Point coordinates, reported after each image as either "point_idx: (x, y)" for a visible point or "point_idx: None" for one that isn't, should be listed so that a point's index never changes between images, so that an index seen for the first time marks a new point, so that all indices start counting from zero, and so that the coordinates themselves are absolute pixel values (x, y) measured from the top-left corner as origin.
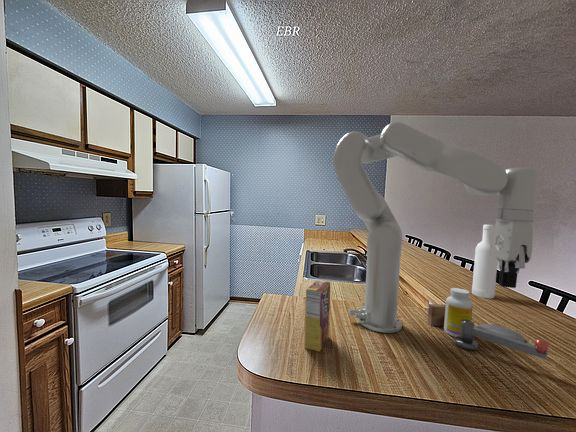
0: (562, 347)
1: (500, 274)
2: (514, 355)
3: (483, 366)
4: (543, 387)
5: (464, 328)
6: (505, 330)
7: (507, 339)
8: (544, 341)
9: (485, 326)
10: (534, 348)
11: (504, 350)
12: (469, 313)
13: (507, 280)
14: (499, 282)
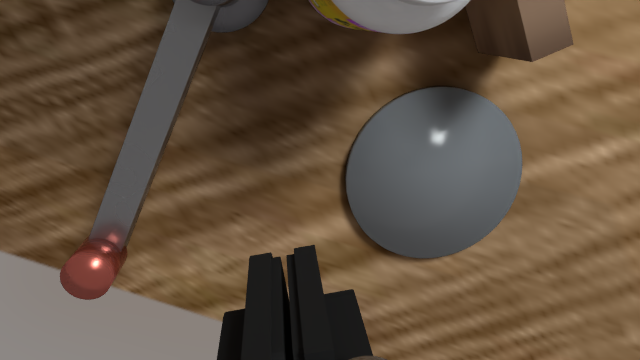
0: (401, 356)
1: (304, 313)
2: (235, 171)
3: (45, 12)
4: (12, 190)
5: None
6: (470, 207)
7: (125, 144)
8: (81, 285)
9: (487, 130)
10: (91, 233)
11: (265, 146)
12: (328, 3)
13: (221, 332)
14: (300, 256)
